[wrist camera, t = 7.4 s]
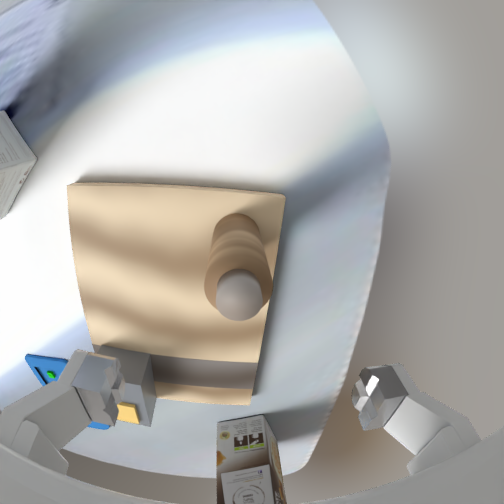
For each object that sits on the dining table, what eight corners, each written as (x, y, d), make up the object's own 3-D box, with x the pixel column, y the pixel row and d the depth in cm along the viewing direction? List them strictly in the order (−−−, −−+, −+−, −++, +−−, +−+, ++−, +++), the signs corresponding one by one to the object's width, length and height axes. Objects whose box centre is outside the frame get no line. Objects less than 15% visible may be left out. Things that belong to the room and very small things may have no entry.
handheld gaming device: (71, 424, 30) (21, 357, 24) (73, 419, 31) (25, 352, 25) (114, 433, 30) (65, 363, 24) (115, 427, 31) (68, 357, 25)
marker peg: (214, 211, 19) (202, 265, 11) (262, 215, 19) (282, 271, 11) (211, 255, 20) (201, 328, 12) (256, 258, 20) (270, 332, 13)
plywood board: (74, 182, 18) (66, 185, 17) (282, 194, 20) (286, 197, 18) (110, 381, 26) (107, 388, 25) (249, 396, 28) (249, 405, 27)
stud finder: (101, 344, 23) (85, 376, 19) (150, 353, 23) (139, 389, 19) (114, 389, 25) (103, 419, 21) (156, 397, 26) (150, 429, 22)
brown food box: (214, 421, 30) (214, 536, 15) (264, 413, 30) (279, 532, 15) (237, 449, 34) (242, 542, 19) (279, 442, 33) (294, 537, 19)
